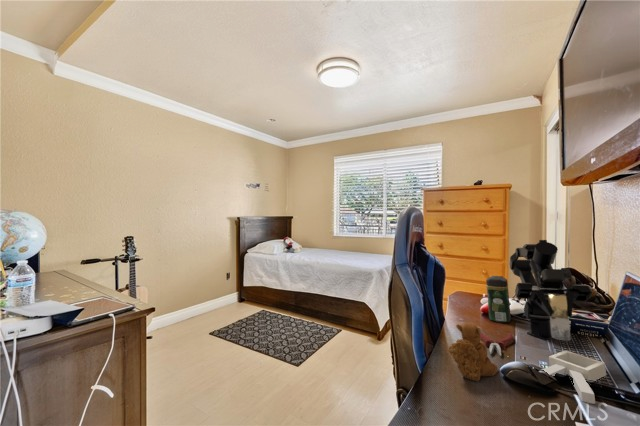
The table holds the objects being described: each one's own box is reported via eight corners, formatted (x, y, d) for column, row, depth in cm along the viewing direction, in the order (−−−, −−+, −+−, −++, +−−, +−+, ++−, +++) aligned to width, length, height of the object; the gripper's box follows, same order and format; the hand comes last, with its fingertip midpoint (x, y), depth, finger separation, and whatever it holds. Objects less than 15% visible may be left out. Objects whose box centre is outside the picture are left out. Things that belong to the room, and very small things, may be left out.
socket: (566, 362, 80) (565, 350, 80) (630, 384, 68) (628, 370, 68) (525, 379, 72) (524, 365, 72) (589, 407, 60) (587, 391, 60)
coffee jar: (490, 315, 124) (487, 274, 125) (511, 318, 119) (508, 275, 120) (487, 321, 116) (484, 277, 117) (509, 324, 111) (506, 279, 112)
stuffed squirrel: (499, 369, 77) (495, 322, 78) (486, 391, 67) (482, 337, 68) (462, 358, 84) (459, 315, 85) (444, 377, 74) (441, 328, 75)
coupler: (551, 333, 86) (547, 292, 87) (570, 337, 83) (566, 294, 84) (551, 338, 82) (547, 295, 83) (571, 341, 80) (566, 297, 80)
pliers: (474, 355, 87) (474, 346, 87) (476, 333, 104) (476, 326, 104) (518, 363, 81) (517, 354, 81) (512, 339, 98) (512, 332, 98)
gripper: (514, 258, 91) (527, 300, 81) (586, 259, 84) (611, 304, 73) (510, 277, 98) (522, 318, 87) (576, 279, 91) (598, 324, 80)
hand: (560, 316), depth 82 cm, fingers closed on coupler, 4 cm apart
